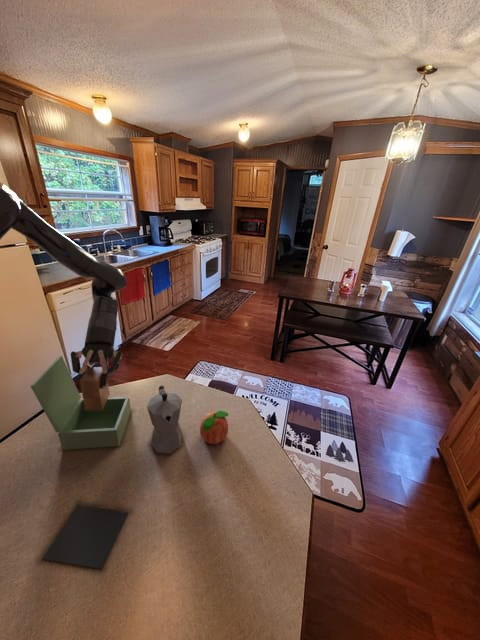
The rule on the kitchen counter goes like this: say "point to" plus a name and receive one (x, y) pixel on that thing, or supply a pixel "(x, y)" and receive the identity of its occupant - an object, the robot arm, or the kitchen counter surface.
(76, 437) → the open box
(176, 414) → the coffeepot
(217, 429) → the fruit
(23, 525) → the kitchen counter surface
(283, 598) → the kitchen counter surface
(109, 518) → the plate
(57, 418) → the lid
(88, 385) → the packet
